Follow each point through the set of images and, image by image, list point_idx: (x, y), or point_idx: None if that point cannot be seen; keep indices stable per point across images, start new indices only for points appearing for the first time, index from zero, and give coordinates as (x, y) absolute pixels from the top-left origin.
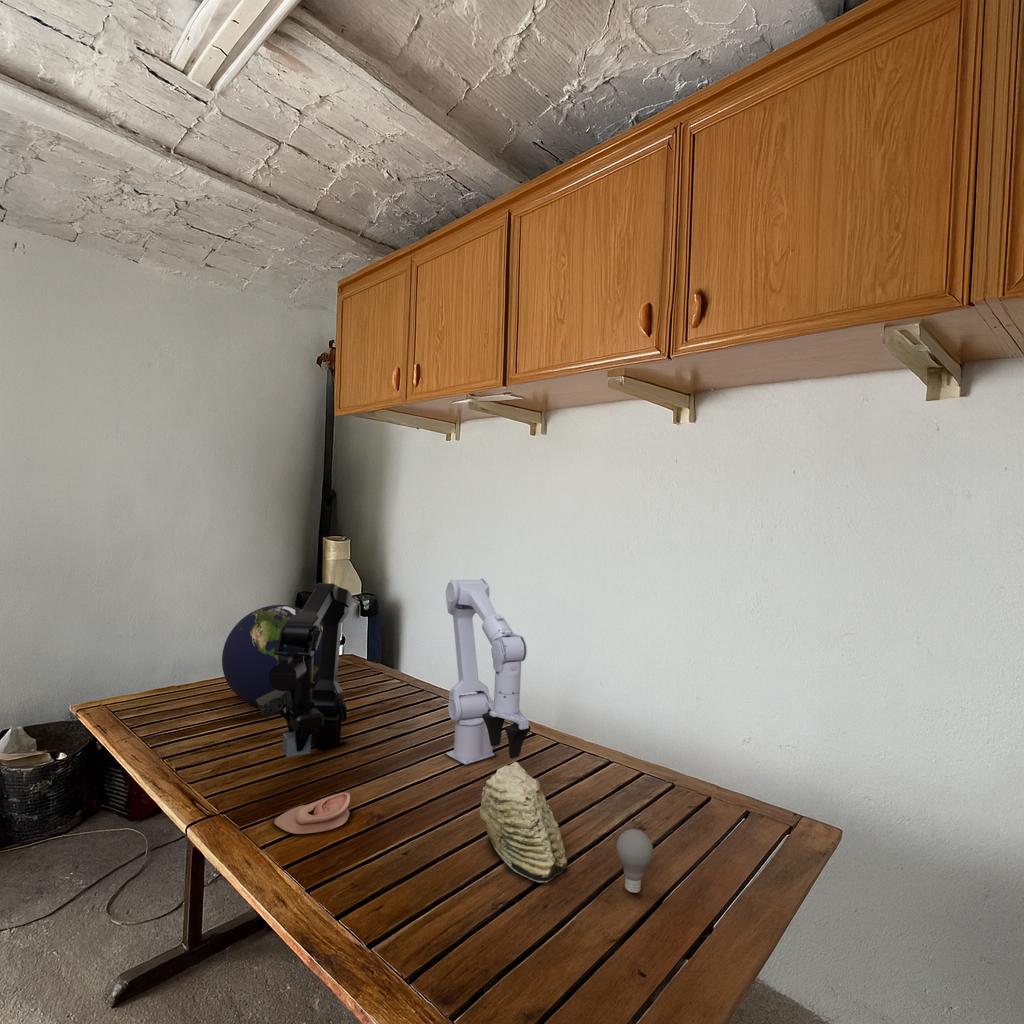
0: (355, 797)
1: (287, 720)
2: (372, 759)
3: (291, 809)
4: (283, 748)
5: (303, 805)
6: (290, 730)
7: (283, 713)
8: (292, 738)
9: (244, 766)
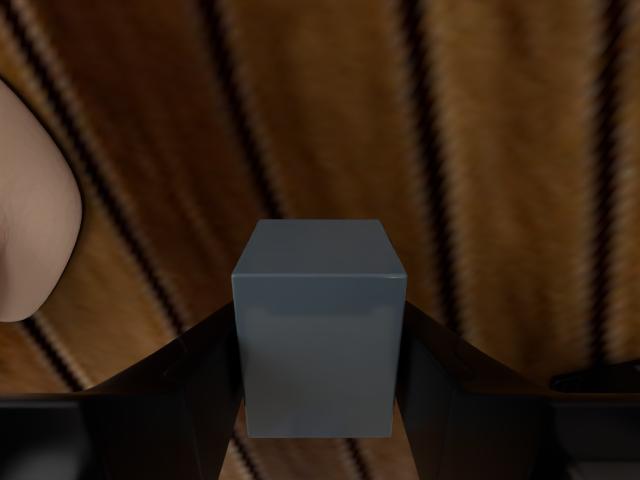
0: (121, 361)
1: (465, 397)
2: (375, 470)
3: (15, 142)
4: (348, 228)
5: (39, 195)
6: (413, 343)
7: (569, 447)
8: (237, 315)
9: (623, 59)
